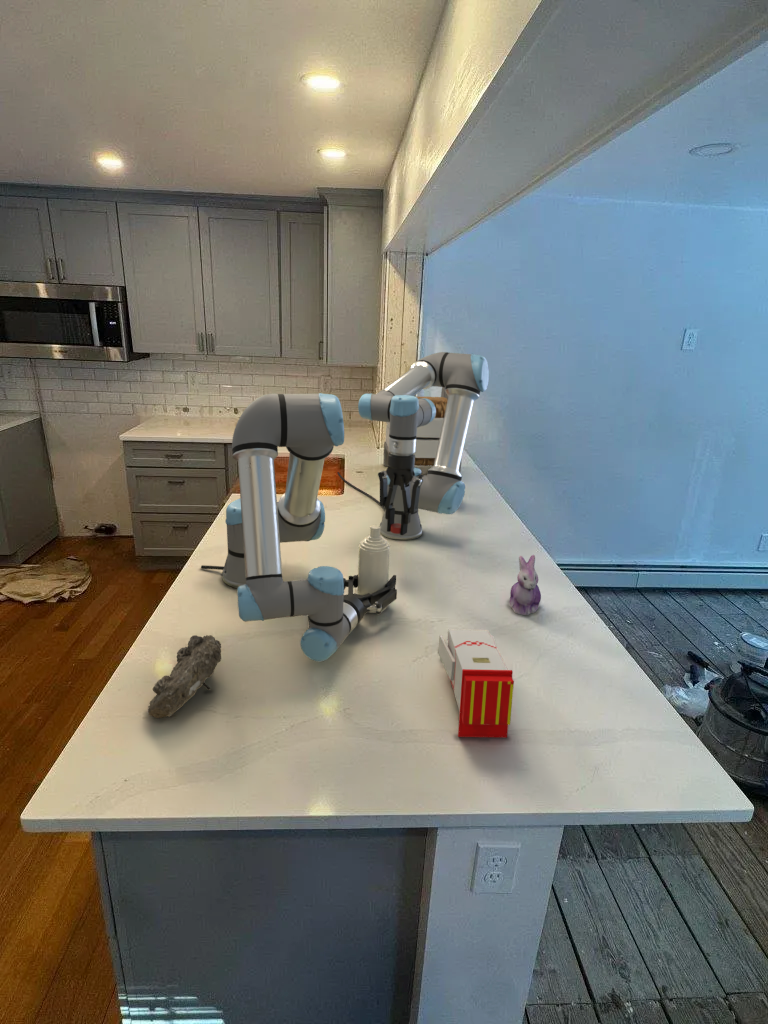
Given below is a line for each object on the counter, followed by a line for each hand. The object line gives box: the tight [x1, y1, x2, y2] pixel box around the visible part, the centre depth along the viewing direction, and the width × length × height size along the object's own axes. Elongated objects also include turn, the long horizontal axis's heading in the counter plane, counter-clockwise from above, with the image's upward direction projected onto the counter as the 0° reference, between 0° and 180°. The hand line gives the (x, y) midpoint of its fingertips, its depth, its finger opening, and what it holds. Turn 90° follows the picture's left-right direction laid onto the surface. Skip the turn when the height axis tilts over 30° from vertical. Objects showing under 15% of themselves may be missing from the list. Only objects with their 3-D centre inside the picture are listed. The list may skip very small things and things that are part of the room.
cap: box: [391, 523, 401, 534], centre depth 163 cm, size 4×4×2 cm
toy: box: [437, 628, 515, 738], centre depth 117 cm, size 12×13×30 cm
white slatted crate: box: [383, 387, 463, 475], centre depth 268 cm, size 34×33×41 cm
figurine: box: [508, 554, 542, 616], centre depth 151 cm, size 9×10×15 cm
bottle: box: [356, 524, 391, 614], centre depth 147 cm, size 8×8×22 cm
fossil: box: [147, 634, 222, 719], centre depth 114 cm, size 22×10×15 cm
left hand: (379, 576), depth 153 cm, fingers closed on bottle, 8 cm apart
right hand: (396, 531), depth 164 cm, fingers closed on cap, 4 cm apart
